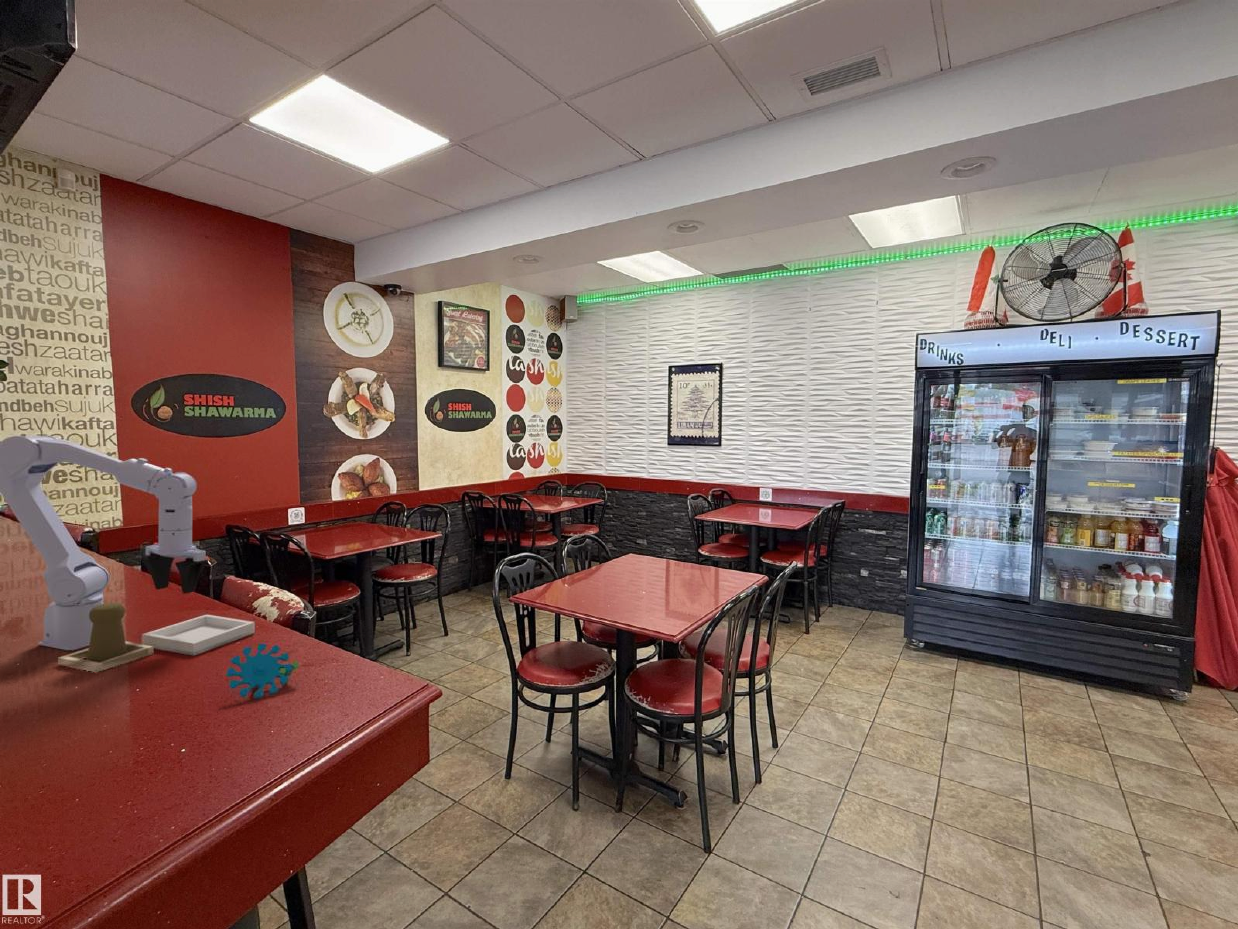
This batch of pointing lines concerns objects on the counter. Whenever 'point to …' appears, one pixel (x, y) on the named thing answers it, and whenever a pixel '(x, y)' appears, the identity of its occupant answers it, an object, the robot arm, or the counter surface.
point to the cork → (106, 632)
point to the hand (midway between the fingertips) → (175, 590)
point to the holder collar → (134, 654)
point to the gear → (260, 670)
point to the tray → (198, 634)
